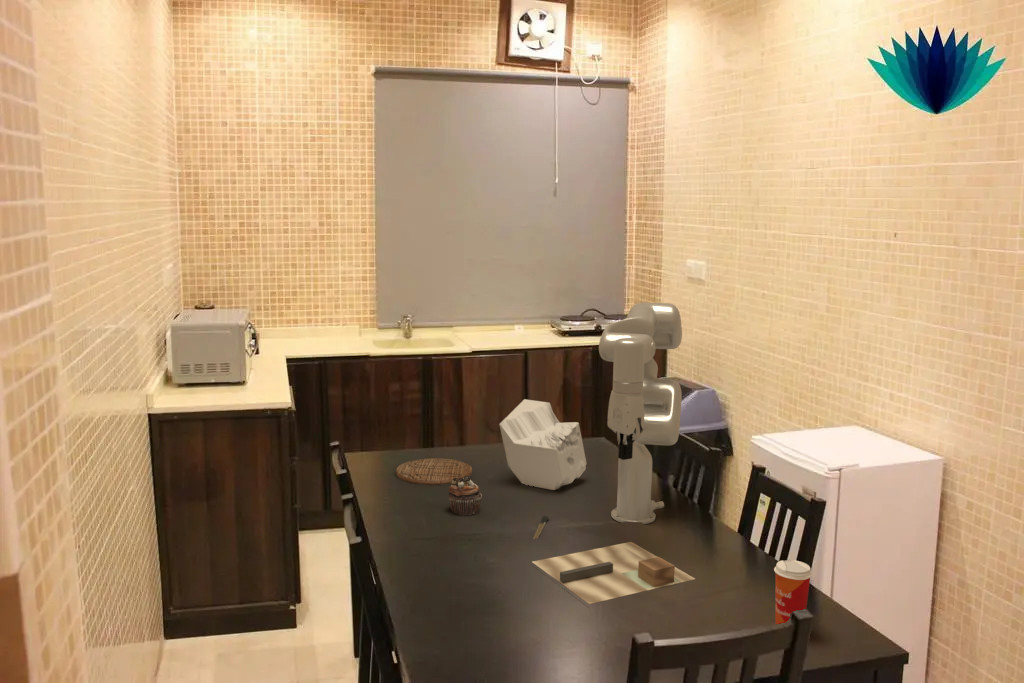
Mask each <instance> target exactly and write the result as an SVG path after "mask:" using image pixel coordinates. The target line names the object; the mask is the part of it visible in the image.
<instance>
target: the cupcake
mask: <svg viewBox="0 0 1024 683" xmlns="http://www.w3.org/2000/svg"><path fill="white" fill-rule="evenodd" d="M482 496H483V494H482V493H481V492H480V487H479V485H477V484H476V483H474V481H473V480H472V479H471V478H468V476H465V477H463V478H460V479H457V478H453V481H452V484H450V485H449V487H448V500H449V503H450V508H451V512H452V513H453V512H454V513H456V514H455V515H457V514H461V515H460V516H464V515H467V516H473V515H472V514H474V515H476V514H478V513H479V512H480V509H481V501H482ZM478 511H479V512H478ZM454 513H453V514H454ZM475 513H476V514H475Z"/></svg>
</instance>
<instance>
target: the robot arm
mask: <svg viewBox="0 0 1024 683" xmlns="http://www.w3.org/2000/svg"><path fill="white" fill-rule="evenodd" d="M682 327H683V326H682V318H681V314H680V311H679V309H678V308H677V306H676V305H675V304H672V303H668V302H667V303H665V302H638V303H636V304H634V305H632V306H631V307H630V309H629V311H628V313H627V316H626V318H623V319H621V320H618V321H615V322H612V323H610V324H608V325H607V326H606V327H605V328H604V330H603V331H602V333H601V337H600V339H599V344H598V352H599V356H600V358H601V359H602V360H604V361H605V362H612V363H613V369H612V371H613V372H612V373H613V374H612V390H611V393H610V396H609V401H608V407H607V408H608V409H607V427H608V428H609V429H610V430H612V432H614V433H615V434H616V436H617V438H616V440H617V442H618V456H617V457H618V466H617V468H618V469H617V494H616V495H617V500H616V507H615V508H614V509H612V510H611V512H610V515H611V518H612V519H613V520H615V521H616V522H619V523H626V522H628V523H630V522H631V523H641V524H643V525H648V524H650V523H653V522H655V520H656V513H655V512H654V511H655V510H656V509H663V508H664V507H665V502H664V501H662V500H661V501H655V500H653V499H652V479H653V478H652V477H653V475H652V474H653V458H652V454H651V452H650V451H649V450H648V448H647V447H646V445H653V446H673V445H675V444H676V443H677V442H678V440H679V436H680V428H681V425H680V424H681V413H682V394H683V393H682V387H681V385H680V383H679V382H678V381H677V380H675V379H671V378H661V377H659V378H658V371H659V370H658V369H659V367H658V364H657V362H656V360H655V359H654V357H655V354H656V350H657V349H658V350H675V349H677V348H679V346H680V345H681V344H682V339H683V330H682V329H683V328H682Z"/></svg>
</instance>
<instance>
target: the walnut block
mask: <svg viewBox="0 0 1024 683" xmlns="http://www.w3.org/2000/svg"><path fill="white" fill-rule="evenodd" d="M675 567H676V566H675V565H674V564H673V563H670V562H669V561H667V560H665V559H664V558H662V557H660V556H657V557H655V558H651V559H646V560H642V561H639V565H638V577H639V578H640V579H642V580H643V581H645V582H647V583H648V584H650V585H651V586H653V587H655V586H659V585H663V584H667V583H672V582H674V572H675Z"/></svg>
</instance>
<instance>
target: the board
mask: <svg viewBox="0 0 1024 683" xmlns="http://www.w3.org/2000/svg"><path fill="white" fill-rule="evenodd" d="M655 557H658V556H657V555H655V554H653V553H651V551H648V550H647V549H644V548H643V547H641V546H639V545H637V544H636V543H634V542H632V541H628V542H623V543H618V544H613V545H608V546H603V547H599V548H593V549H588V550H583V551H579V552H574V553H568V554H564V555H559V556H554V557H549V558H542V559H538V560H534V561H532V563H533V564H534V565H535V566H537V567H538V568H539V569H541V570H542V571H544V572H545V573H546V574H548V575H549V576H550V577H552V578H553V579H554V580H552V582H553V583H555V580H556V581H557V582H559V583H560V584H561V585H563V587H565V589H564V588H563V590H564V591H565V590H566V588H567V589H568V590H570V591H571V592H572V593H573V594H575V595H576V596H577V597H579V598H580V599H582V600H583V601H584V602H585V603H587V604H588V605H590V604H595V603H600V602H604V601H609V600H612V599H617V598H620V597H621V598H622V597H625V596H629V595H633V594H634V595H635V594H638V593H642V592H647V591H652V590H655V589H660V588H663V587H664V588H665V587H668V586H672V585H676V584H681V583H685V582H690V581H693V580H696V578H695V577H694V576H691V575H689V574H688V573H686V572H684V571H682V570H681V569H679V568H677V567H676V566H675V572H674V582H672V583H667V584H663V585H659V586H655V587H653V586H651V585H650V584H648V583H647V582H645V581H643V580H642V579H640V578H639V577H638V565H639V561H642V560H646V559H651V558H655ZM605 562H611V563H613V572H609V573H605V574H600V575H596V576H591V577H587V578H582V579H577V580H573V581H568V582H564V583H563V582H562V581H560V572H563V571H568V570H572V569H577V568H582V567H586V566H591V565H596V564H601V563H605ZM538 568H536V570H537V571H539V572H540V573H541V574H543V575H544V576H547V575H546V574H544V573H543V572H542V571H540V570H538ZM567 593H568V594H569V595H571V596H572V597H573V598H575V599H576V600H578V599H577V598H576V597H575V596H574V595H572V594H571V593H570V592H568V591H567ZM579 603H582V601H581V600H579ZM585 603H583V605H585V606H586V607H587V608H589V609H590V607H589V606H588V605H586V604H585Z"/></svg>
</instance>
